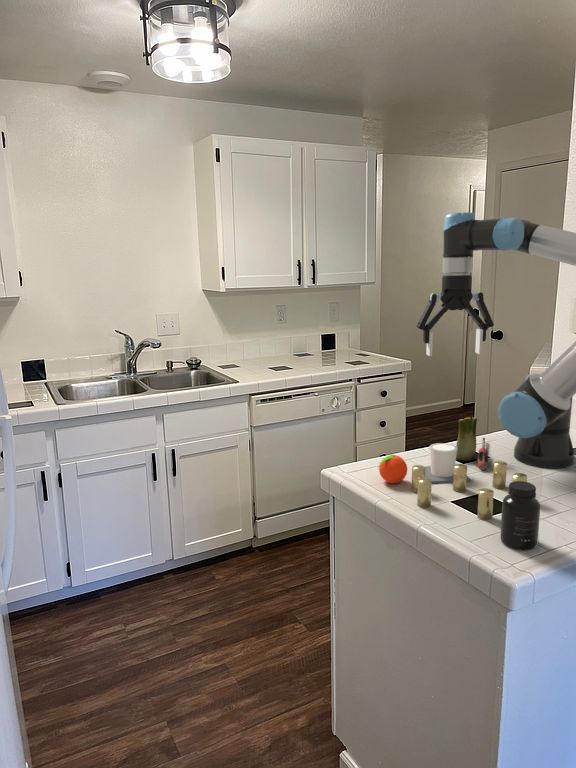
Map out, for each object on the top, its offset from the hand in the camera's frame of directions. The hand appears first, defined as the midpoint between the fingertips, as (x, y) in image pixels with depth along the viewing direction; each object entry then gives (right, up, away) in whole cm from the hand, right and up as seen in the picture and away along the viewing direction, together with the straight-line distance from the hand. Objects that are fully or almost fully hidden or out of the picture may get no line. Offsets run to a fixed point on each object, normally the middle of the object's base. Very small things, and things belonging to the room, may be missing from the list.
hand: (453, 354), depth 156 cm
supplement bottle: (0, -39, -43) cm, 58 cm away
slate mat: (-5, -31, -8) cm, 33 cm away
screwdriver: (+10, -28, +5) cm, 30 cm away
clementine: (-19, -33, -12) cm, 40 cm away
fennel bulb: (+4, -29, +3) cm, 29 cm away
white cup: (-5, -31, -8) cm, 32 cm away
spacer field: (-3, -35, -24) cm, 43 cm away
